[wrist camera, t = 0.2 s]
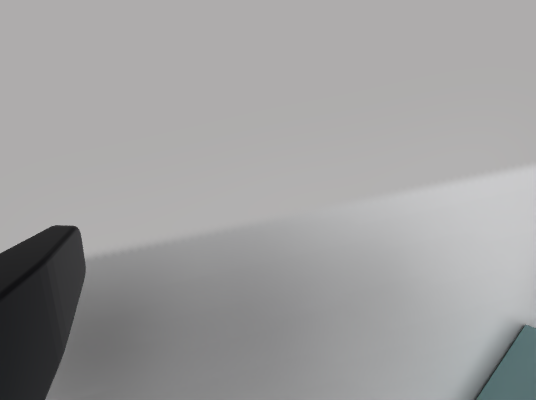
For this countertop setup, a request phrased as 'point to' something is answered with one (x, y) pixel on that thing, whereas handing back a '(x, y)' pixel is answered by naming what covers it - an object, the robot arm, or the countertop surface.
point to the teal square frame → (515, 371)
